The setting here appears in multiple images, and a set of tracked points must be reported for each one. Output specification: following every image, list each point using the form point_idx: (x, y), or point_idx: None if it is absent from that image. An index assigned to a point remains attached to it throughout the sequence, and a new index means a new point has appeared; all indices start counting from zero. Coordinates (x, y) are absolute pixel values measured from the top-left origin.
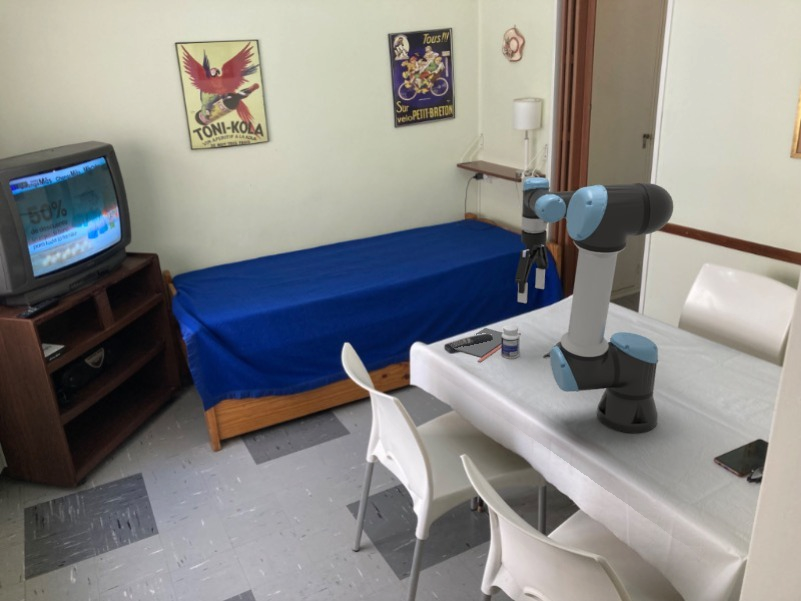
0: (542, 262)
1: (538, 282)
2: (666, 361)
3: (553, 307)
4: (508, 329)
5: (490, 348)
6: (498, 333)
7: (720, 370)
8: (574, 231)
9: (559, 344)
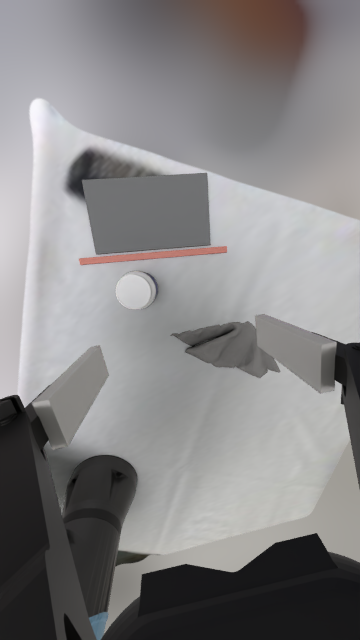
0: (353, 451)
1: (269, 334)
2: (262, 448)
3: None
4: (120, 295)
5: (134, 246)
6: (200, 216)
7: (272, 490)
8: None
9: (228, 327)
